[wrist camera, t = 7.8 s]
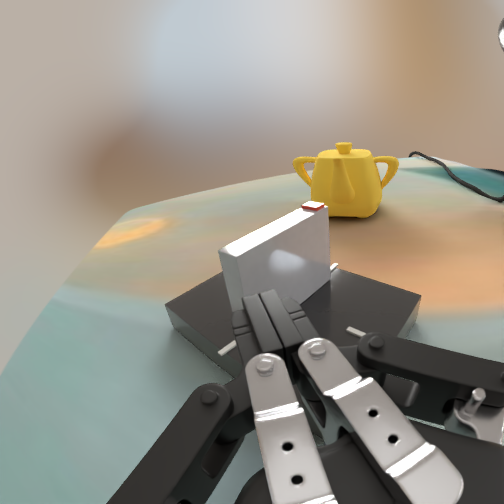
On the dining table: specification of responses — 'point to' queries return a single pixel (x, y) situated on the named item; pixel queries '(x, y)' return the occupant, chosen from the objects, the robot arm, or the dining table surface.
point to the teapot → (347, 180)
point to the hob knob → (280, 257)
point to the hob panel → (315, 307)
